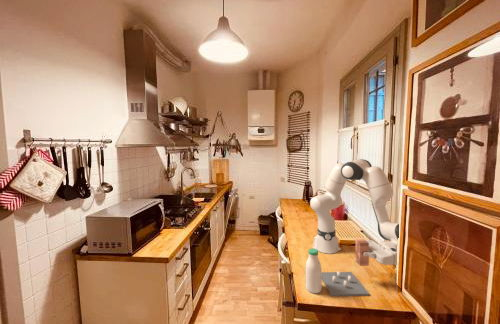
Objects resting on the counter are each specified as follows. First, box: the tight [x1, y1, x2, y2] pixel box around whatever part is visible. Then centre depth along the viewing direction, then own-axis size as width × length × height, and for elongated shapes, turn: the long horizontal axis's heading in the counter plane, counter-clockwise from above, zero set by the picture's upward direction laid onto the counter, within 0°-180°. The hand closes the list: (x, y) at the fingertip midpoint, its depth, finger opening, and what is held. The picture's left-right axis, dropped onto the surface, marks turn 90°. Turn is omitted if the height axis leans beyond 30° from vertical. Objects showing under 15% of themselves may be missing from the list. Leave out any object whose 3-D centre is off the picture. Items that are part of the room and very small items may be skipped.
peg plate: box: [321, 270, 370, 297], centre depth 109 cm, size 18×18×4 cm
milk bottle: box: [305, 248, 323, 294], centre depth 105 cm, size 8×8×20 cm
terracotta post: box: [355, 238, 370, 267], centre depth 109 cm, size 4×4×12 cm
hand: (360, 251), depth 109 cm, fingers closed on terracotta post, 4 cm apart
